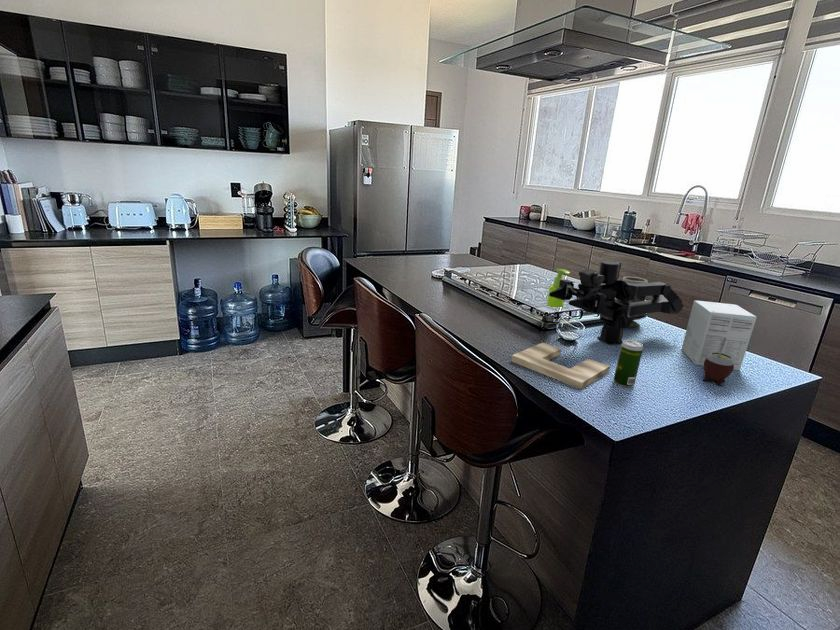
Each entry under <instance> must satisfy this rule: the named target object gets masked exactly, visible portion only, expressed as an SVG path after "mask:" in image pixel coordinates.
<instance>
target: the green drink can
mask: <svg viewBox="0 0 840 630" xmlns="http://www.w3.org/2000/svg"><path fill="white" fill-rule="evenodd" d="M622 341H623V343H622V344H620V348H619V352H618V357H617V362H616V365H615V366H616V367H615V372H614V375H613V382H614V384H615V385H616V386H619V387H621V388H624V389H625V388H626V389H630V388H631V389H632V388H633V387H634V385H636V379H637V377H638V371H639V368H640V363H641V359H642V355H643V350H644V349H643V345H644V344H643V343H641V342H639V341H636V340H632V339H625V340H622Z"/></svg>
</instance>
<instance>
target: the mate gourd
mask: <svg viewBox="0 0 840 630" xmlns="http://www.w3.org/2000/svg"><path fill="white" fill-rule="evenodd" d="M725 341H726V338H724V339H723V342H722V343H721V348H720V351H719V353H717V352H713V353H710V354H709V355H708V356H707V357H706V359H705V361H704V366H703V371H704V378H703V379H702V381H703V382H706V383H714V384H715V385H717V386H719V387H723V383H724V384H725V383H726V379H728V378H729V377H730V375H731V374H732V373H733V371H734V370H733V369H734V361H733V359H732V358H731V357H730V356H728V355H726V354H722V350H723V347H724V345H725Z"/></svg>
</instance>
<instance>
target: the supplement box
mask: <svg viewBox="0 0 840 630" xmlns="http://www.w3.org/2000/svg"><path fill="white" fill-rule="evenodd" d="M691 307H692V308H691V311H690V314H689V320H688V322H687V323H688V324H687V327H686V329H685V334H684V337H683V338H684V339H683V343H682V346H681V349H680V350H681V351H682V352H683V353H684V354H685V356H687V357H688V359H690V361H691V362H693V364H694V365H697V366H703V367H704V361H705V359H706V357H707V356H708V355H709V354H710V353H713V352H717V353H719V351H720V348H721V343H722V342H723V339H724V338H726V341H725V345H724V347H723V350H722V354H726V355H728V356H730V357H731V358H732V359H733V361H734V369H733V371H740V370H741V368H742V364H743V363H744V359H745V355H746V352H747V349H748V346H749V342H750V340H751V338H752V337H751V336H752V333H753V330H754V328H755V324H756V320H757V317H758V316H756V315H755V314H753V313H752V312H749V311H747V310H746V309H744V308H743V307H741V306H740V305H738V304H733V303H725V302H724V303H723V302H716V301H715V302H713V301H706V300H705V301H704V300H693V303H692V306H691Z"/></svg>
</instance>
